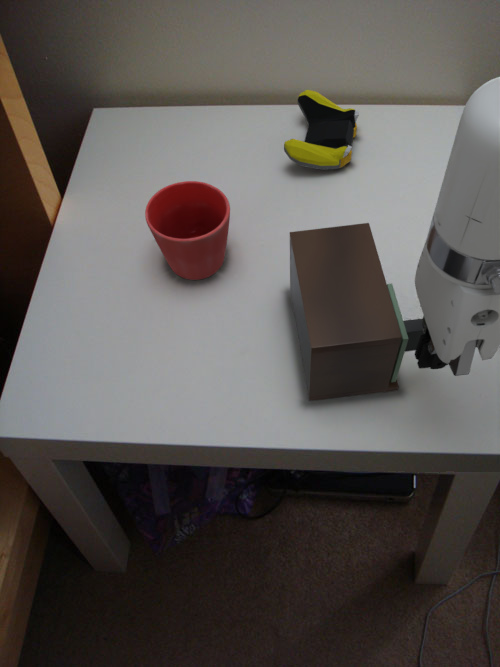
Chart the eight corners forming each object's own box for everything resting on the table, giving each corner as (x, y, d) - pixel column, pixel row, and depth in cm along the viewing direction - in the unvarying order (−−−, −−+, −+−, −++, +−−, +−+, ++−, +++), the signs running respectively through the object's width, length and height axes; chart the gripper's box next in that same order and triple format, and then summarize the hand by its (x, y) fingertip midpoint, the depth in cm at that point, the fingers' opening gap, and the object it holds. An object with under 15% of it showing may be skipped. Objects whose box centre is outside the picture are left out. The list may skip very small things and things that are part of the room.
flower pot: (201, 218, 88) (191, 167, 80) (251, 259, 83) (246, 209, 75) (143, 258, 84) (127, 208, 76) (192, 302, 80) (181, 255, 72)
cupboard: (369, 284, 79) (380, 221, 69) (397, 390, 71) (415, 335, 61) (290, 293, 79) (289, 231, 69) (308, 401, 71) (311, 348, 61)
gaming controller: (281, 176, 92) (346, 183, 90) (281, 147, 87) (349, 154, 85) (299, 114, 100) (359, 119, 98) (299, 84, 95) (363, 90, 93)
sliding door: (413, 325, 74) (428, 278, 66) (429, 378, 70) (447, 334, 62) (376, 330, 74) (386, 283, 66) (390, 382, 70) (403, 339, 62)
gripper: (565, 311, 42) (491, 422, 57) (494, 167, 50) (446, 298, 66) (459, 324, 42) (413, 431, 57) (405, 178, 50) (378, 306, 65)
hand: (431, 360), depth 61 cm, fingers closed
